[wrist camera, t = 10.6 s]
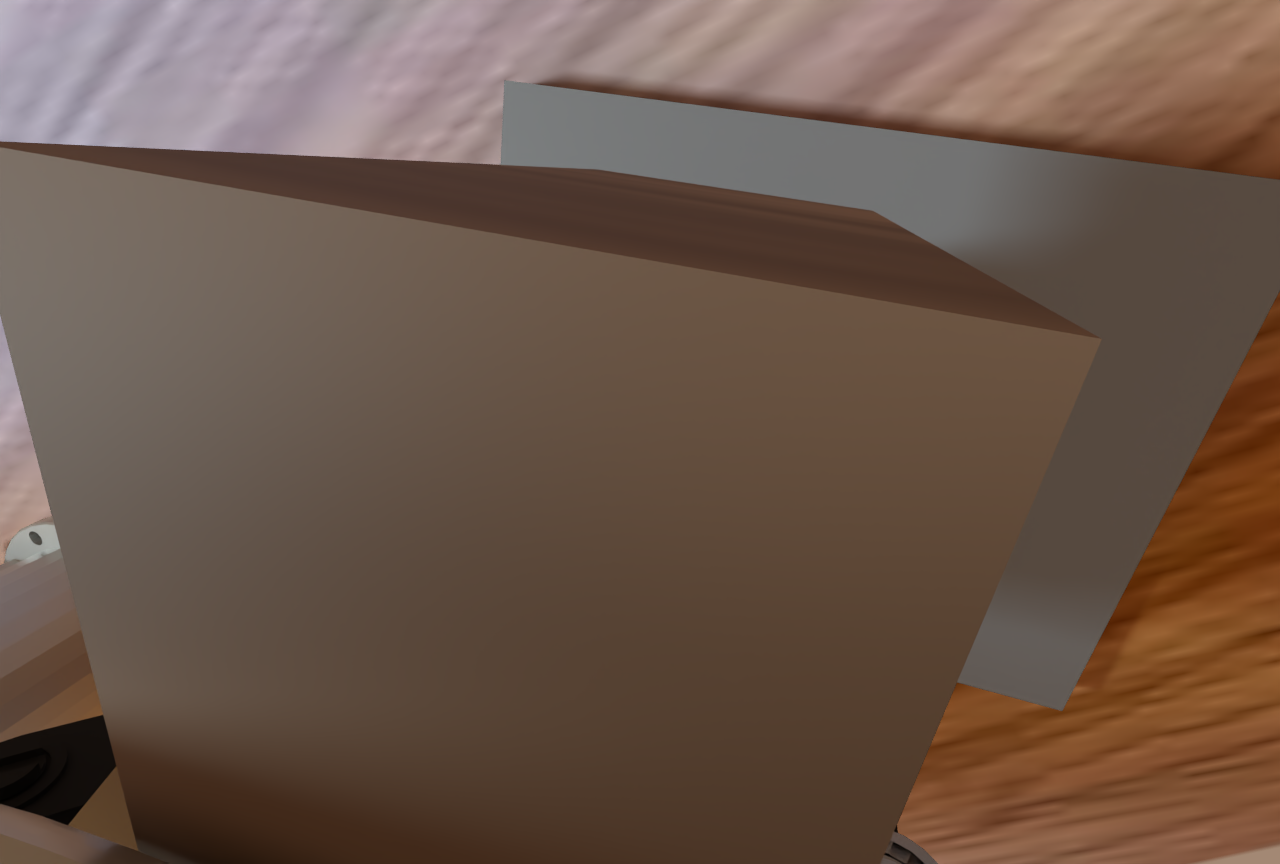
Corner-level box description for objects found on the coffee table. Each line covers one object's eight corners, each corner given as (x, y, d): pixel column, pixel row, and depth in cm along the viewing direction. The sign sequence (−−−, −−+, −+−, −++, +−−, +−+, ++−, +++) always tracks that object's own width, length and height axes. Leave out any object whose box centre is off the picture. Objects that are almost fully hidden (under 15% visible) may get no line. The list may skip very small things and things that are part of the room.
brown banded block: (598, 169, 12) (-44, 138, 3) (872, 210, 11) (1104, 339, 2) (543, 722, 18) (252, 1297, 9) (724, 780, 17) (616, 1489, 8)
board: (498, 535, 29) (483, 552, 28) (523, 86, 22) (504, 80, 21) (1049, 682, 25) (1062, 711, 24) (1294, 186, 18) (1333, 186, 17)
